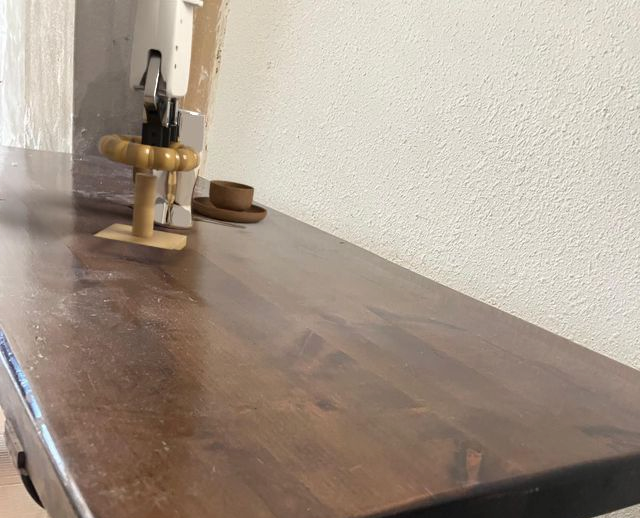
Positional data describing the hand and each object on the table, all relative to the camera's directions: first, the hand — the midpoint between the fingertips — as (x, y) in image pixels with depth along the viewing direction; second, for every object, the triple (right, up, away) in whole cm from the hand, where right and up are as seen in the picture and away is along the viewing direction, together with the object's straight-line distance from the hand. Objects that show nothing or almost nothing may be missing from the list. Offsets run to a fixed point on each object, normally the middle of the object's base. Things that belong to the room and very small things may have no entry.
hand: (157, 158), depth 90 cm
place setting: (+1, +2, +29) cm, 29 cm away
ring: (0, -1, -4) cm, 4 cm away
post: (-2, -11, 0) cm, 11 cm away
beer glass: (-1, -4, +15) cm, 16 cm away
